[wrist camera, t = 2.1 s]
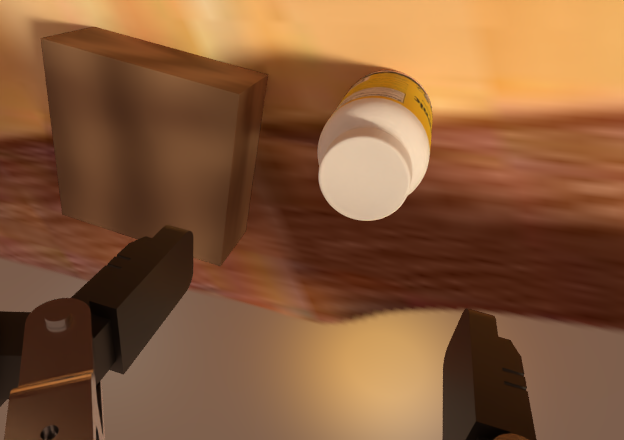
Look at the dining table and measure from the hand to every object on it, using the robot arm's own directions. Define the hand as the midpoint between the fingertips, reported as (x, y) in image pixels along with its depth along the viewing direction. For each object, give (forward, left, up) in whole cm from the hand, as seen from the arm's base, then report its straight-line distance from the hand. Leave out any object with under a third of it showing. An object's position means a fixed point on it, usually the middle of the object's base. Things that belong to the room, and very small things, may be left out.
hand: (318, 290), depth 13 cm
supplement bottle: (0, 0, -18) cm, 18 cm away
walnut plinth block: (+14, +5, -18) cm, 23 cm away
